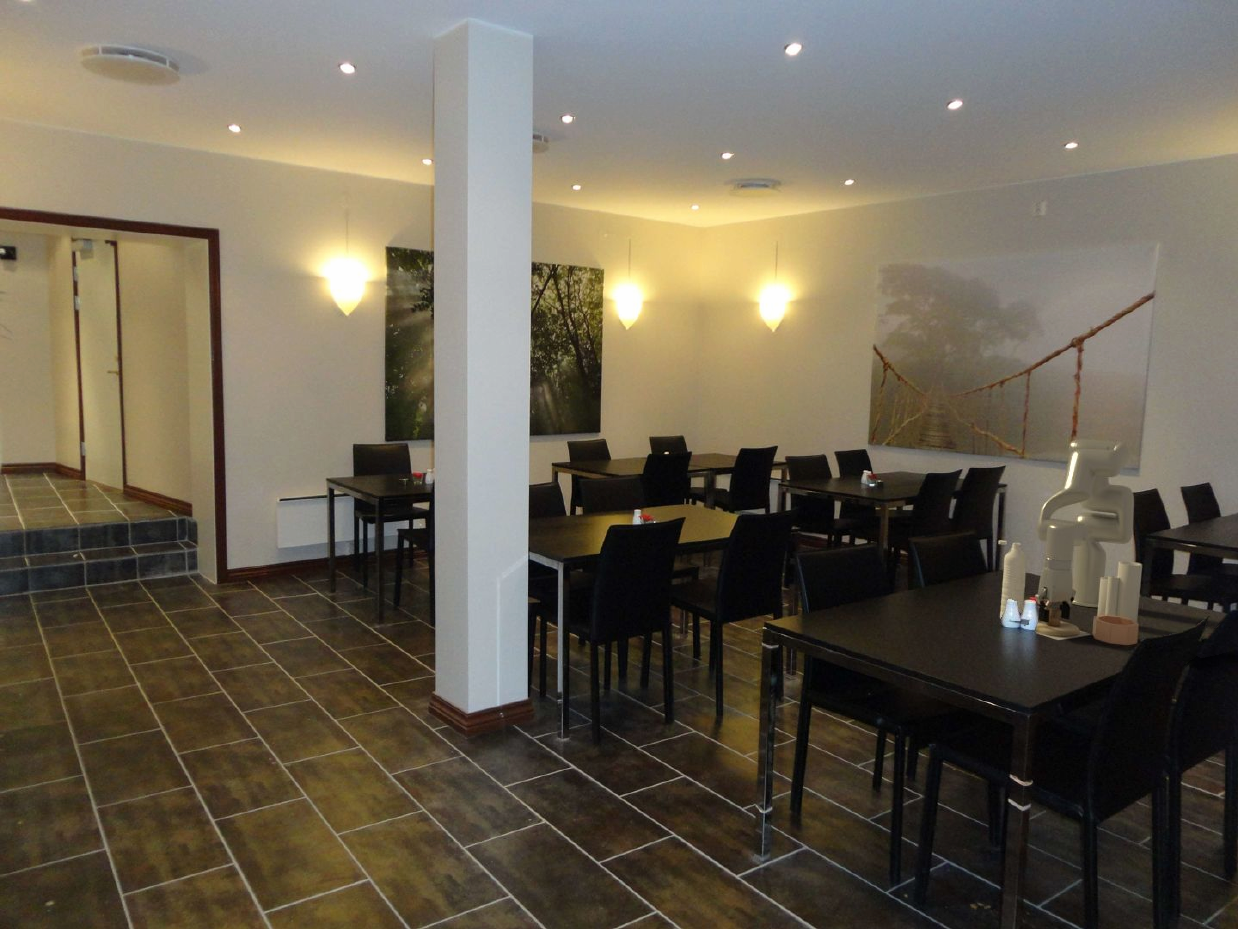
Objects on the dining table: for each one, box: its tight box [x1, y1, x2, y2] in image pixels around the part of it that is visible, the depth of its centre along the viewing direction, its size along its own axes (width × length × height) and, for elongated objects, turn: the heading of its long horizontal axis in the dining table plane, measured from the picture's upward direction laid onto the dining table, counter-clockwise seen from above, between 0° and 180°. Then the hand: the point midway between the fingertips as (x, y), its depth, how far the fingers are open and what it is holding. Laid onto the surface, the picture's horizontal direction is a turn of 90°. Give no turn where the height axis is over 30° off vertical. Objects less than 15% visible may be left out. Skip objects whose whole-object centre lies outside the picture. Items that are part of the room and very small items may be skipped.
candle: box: [1096, 560, 1143, 623], centre depth 276 cm, size 11×7×20 cm, turn 50°
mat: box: [1035, 630, 1093, 641], centre depth 266 cm, size 15×15×1 cm
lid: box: [1035, 607, 1080, 638], centre depth 266 cm, size 14×14×6 cm
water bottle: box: [998, 540, 1028, 619], centre depth 278 cm, size 9×6×25 cm
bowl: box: [1091, 615, 1140, 646], centre depth 259 cm, size 11×11×6 cm
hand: (1053, 619), depth 266 cm, fingers open, 8 cm apart
